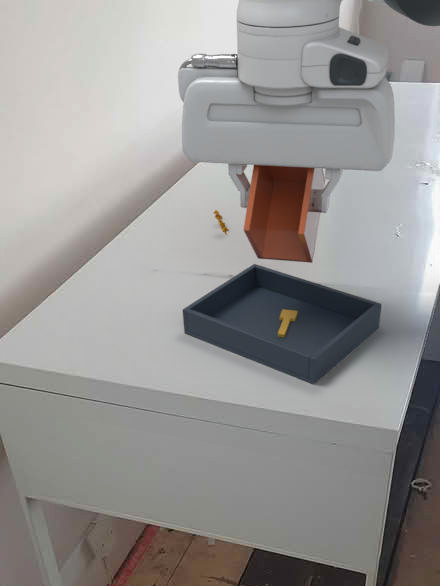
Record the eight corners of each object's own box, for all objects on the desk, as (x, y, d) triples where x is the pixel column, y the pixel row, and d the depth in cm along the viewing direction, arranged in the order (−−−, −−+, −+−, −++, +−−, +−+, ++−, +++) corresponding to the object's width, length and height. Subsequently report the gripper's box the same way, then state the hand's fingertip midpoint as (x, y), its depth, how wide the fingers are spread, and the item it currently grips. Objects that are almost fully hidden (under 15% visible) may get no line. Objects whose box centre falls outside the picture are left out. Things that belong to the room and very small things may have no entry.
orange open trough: (270, 177, 78) (257, 140, 70) (325, 180, 77) (318, 142, 69) (257, 258, 78) (243, 230, 70) (312, 262, 76) (304, 234, 68)
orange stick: (212, 215, 104) (212, 208, 103) (219, 214, 104) (219, 207, 104) (222, 237, 98) (222, 230, 98) (230, 236, 98) (230, 229, 98)
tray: (379, 327, 79) (381, 303, 77) (313, 384, 72) (314, 359, 70) (254, 286, 88) (254, 263, 86) (184, 333, 80) (182, 309, 78)
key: (282, 312, 82) (282, 309, 82) (297, 313, 82) (297, 310, 81) (272, 336, 78) (272, 333, 78) (289, 338, 78) (289, 334, 77)
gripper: (165, 62, 64) (178, 214, 73) (399, 65, 59) (382, 228, 68) (186, 45, 68) (196, 190, 77) (406, 47, 63) (388, 202, 73)
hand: (285, 208), depth 73 cm, fingers closed on orange open trough, 6 cm apart
